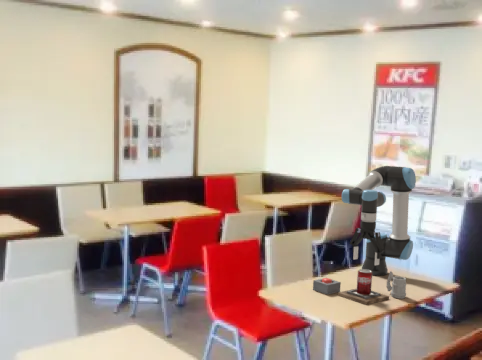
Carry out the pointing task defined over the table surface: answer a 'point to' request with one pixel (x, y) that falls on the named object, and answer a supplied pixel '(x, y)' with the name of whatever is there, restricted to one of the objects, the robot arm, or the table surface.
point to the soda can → (364, 282)
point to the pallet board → (363, 299)
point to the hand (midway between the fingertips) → (365, 262)
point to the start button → (327, 280)
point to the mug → (397, 286)
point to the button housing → (326, 286)
